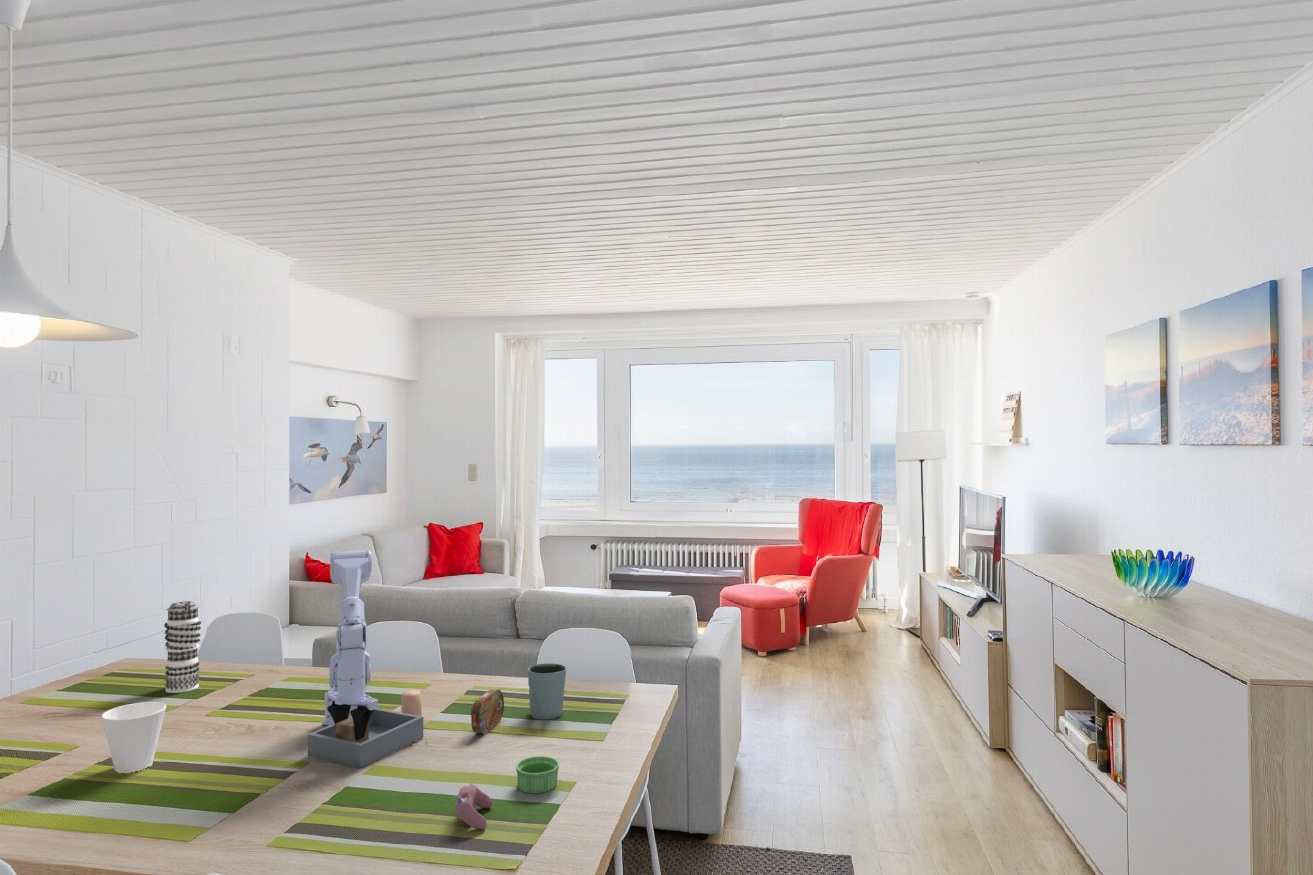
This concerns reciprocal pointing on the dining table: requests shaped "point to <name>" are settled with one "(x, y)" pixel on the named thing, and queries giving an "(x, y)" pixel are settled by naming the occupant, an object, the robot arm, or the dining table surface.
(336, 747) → the tote
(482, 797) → the video game controller
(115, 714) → the cup
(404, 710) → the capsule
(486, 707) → the tin
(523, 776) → the ramekin
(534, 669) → the grey plant pot
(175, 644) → the decorative candle
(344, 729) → the cube
